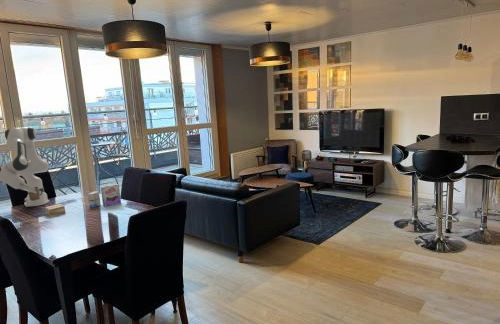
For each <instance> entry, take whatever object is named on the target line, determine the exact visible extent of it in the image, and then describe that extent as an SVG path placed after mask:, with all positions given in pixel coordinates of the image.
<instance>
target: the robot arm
mask: <svg viewBox="0 0 500 324" xmlns="http://www.w3.org/2000/svg"><path fill="white" fill-rule="evenodd" d="M4 136H5V137H4V138H5V140H6V146H7V148H8V149H9V150H11V151H15V152H16V156H15V158H13V159H12V160H10V161H9V162H7V163H6V164H4V165H2V166H0V182H3V183H4V184H6V185H8V186H10V187H11V188H13V189H15V190H21V191H25V192H27V196H26V197H25V198H24V206H25V207H38V206H41V205H46V204H48V203H49V202H50V200H49V199H48V194H47V193H46V192H45V188H44V185H43V179H41V177H38V176H36V175H35V174H39V173H44V172H47V171H48V170H49V168H50V164H49V162H48V161H47V160H45V159H43V158H42V157H41V156H40V155H39V154H38V153H37V149H36V146H35V145H36V144H35V141H34V140H35V139H36V138H37V130H36V129H35V128H34V127H31V126H27V127H26V126H21V127H12V128H8V129H6V130H5V131H4ZM19 175H20V176H19ZM21 176H22V177H21ZM32 186H37V187H38V191H39V197H40V199H38V200H34V201H32V200H30V196H29V192H32V193H35V194H36V193H37V192H36V191H35V188H34V187H32Z"/></svg>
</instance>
